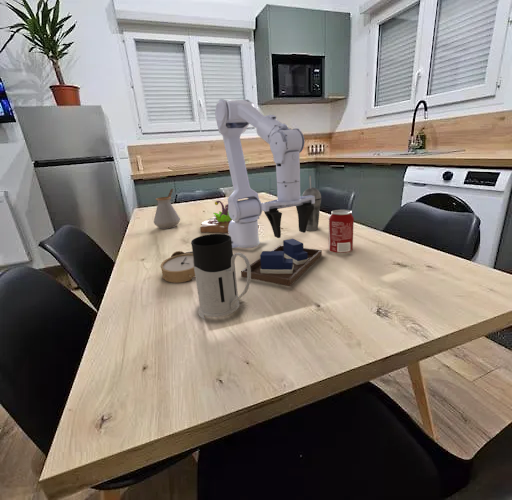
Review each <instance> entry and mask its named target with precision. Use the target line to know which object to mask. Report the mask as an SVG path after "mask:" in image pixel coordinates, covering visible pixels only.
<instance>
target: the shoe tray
mask: <svg viewBox="0 0 512 500" xmlns="http://www.w3.org/2000/svg"><path fill="white" fill-rule="evenodd" d="M271 251H284V250H283V245H282V244H281V245H277V246H276V247H274V248H273V249H272V250H271ZM304 251H305V252H307V253H308V259H309V260H308V261H307V262H306V263H304V264H300V265H297V264H295V263H293V266H294V269H293V274H271V273H261V272H260V269H261V259H260V258H259V259H257V260H256V261H254V262H252V263H250V267H251V280H256V281H261V282H266V283H270V284H271V283H272V284H276V285H281V286H287V287H291V285H293V284H294V283H295V282H296V281H297V280H298V279H299V278H300V277H301V276H302V275H303V274H304V273H305V272H307V270H308V269H309V268H310V267H311V266H312V265H313V264H314V263H316V262H317V261H318V260H319V259H320V258H321V257H322V255H323V250H322V249H315V248H307V247H304ZM284 258H285V257H284ZM285 259H287V258H285ZM240 275H241V278H246V279H247V267H245V268H243V269H241V271H240Z"/></svg>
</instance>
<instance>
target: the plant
mask: <svg viewBox="0 0 512 500" xmlns="http://www.w3.org/2000/svg"><path fill="white" fill-rule="evenodd" d="M219 204H220V205H221V211H218V213H217V212H213V216H214V217H210V218H208V219H206V220H204V221H202V222H201V223H200V232H201V233H210V234H227V233H228V226H229V223H230V221H232V219H231V218H230V216H229V213H228V203H226V204H225V205H224V203H223V202H222V201H221V200H216V201H214V205H215V206H218V205H219Z"/></svg>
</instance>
